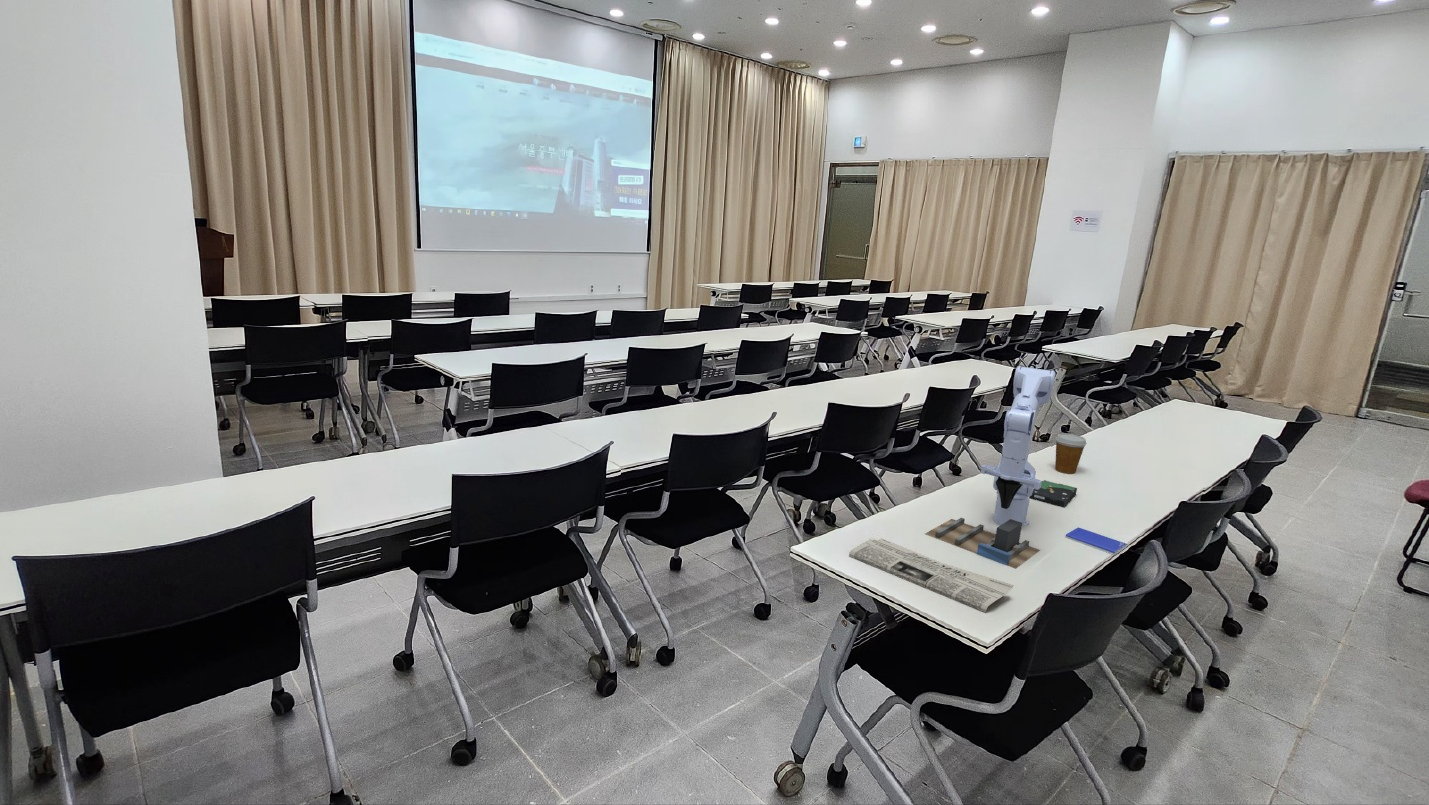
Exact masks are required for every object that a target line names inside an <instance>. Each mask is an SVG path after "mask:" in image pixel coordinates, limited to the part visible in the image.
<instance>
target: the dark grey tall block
mask: <svg viewBox="0 0 1429 805" xmlns="http://www.w3.org/2000/svg"><path fill="white" fill-rule="evenodd" d="M1022 528H1023V524H1022V523H1021V522H1018V521H1015V520H1012V519H1010V520H1008V521H1007V522H1005V523H1003V524H1002V525H999V526H997V527H996V531H995V534H996V536H995V542H994V548H997V549H999V550H1002V551H1005V552H1007V553H1008V552H1009V551H1010V550H1012V549H1013V546H1015V545H1019V543H1020V539H1021V534H1022V533H1021V532H1022Z"/></svg>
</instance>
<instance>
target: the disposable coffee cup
mask: <svg viewBox="0 0 1429 805" xmlns="http://www.w3.org/2000/svg"><path fill="white" fill-rule="evenodd" d="M1086 441H1087V440H1086V438H1085V437H1083V436H1080V435H1079V434H1077V435H1076V434H1073V433H1066V432H1065V433H1059V434H1057V436H1056V437H1055V442H1056V443H1055V464H1054V469H1055V471H1057V472H1060V473H1063V474H1067V475H1068V474H1069V475H1073V474H1076V472H1077V468H1078V466H1079V463H1080V460H1081V457H1082V455H1083V451H1084V449H1085V447H1086V445H1087V442H1086Z"/></svg>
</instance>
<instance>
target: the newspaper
mask: <svg viewBox="0 0 1429 805" xmlns="http://www.w3.org/2000/svg"><path fill="white" fill-rule="evenodd" d="M848 556H849V557H850V558H853V559H855V560H857V561H860V562H863V563H864V564H867V565H869V566H871V567H874V568H877V569H879V570H881V569H882V571H884V572H886V573H888V572H889V574H892V575H893V574H894V575H893V576H896V577H898V578H901V577H902V578H901V579H903V578H904V579H903V580H905V579H906V580H905V581H908V582H910V581H911V583H913V584H915V585H917V586H920V587H922V588H925V589H928V590H930V591H931V592H934V593H937V594H939V595H942V596H944V597H946V598H949V599H952V600H953V601H956V602H959V603H961V604H964V605H966V606H968V607H971V608H973V609H976V610H978V611H980V612H983V613H985V614H986V613H987V609H988V607H989V606H990V605H992V604H993V603H995V602H996V601H998V600H999V599H1001V598H1004V596H1006V595H1007V594H1009V592H1010V591H1011V590H1012V589H1013V588H1014V585H1013V584H1012V583H1008V582H1005V581H1002V580H998V579H995V578H992V577H989V576H986V575H982V574H978V573H975V572H973V571H970V570H966V569H963V568H960V567H957V566H953V565H950V564H947V563H944V562H941V561H939V560H936V559H933V558H930V557H929V556H926V555H923V554H921V553H918V552H916V551H914V550H911V549H908V548H907V547H904V546H901V545H899V544H896V543H894V542H891V541H889V540H886V539H884V538H881V537H880V539H871V538H869V539H868V540H865V541H864V542H862V543H861V544H859V545H857V546H856V547H854V548H852V549H851V550H850V551H849V554H848Z"/></svg>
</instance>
